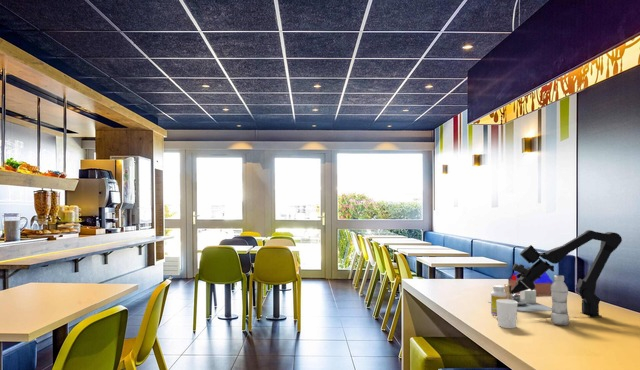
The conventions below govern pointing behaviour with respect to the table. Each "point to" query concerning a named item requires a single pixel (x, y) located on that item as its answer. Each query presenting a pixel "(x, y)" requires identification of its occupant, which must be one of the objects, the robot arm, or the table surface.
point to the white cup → (506, 313)
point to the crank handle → (514, 295)
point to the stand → (531, 302)
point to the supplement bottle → (497, 297)
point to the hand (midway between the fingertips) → (511, 293)
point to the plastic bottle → (559, 301)
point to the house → (540, 284)
